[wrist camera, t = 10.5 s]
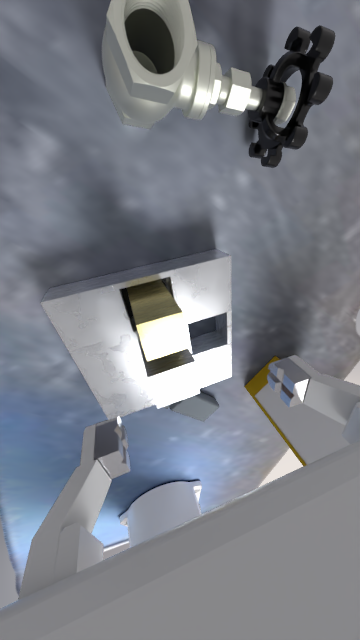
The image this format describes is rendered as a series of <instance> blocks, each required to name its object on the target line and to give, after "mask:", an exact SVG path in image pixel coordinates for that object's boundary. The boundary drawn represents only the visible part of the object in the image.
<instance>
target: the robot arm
mask: <svg viewBox="0 0 360 640" xmlns="http://www.w3.org/2000/svg"><path fill="white" fill-rule="evenodd" d="M268 369H269V370H270V372H269V373H268V376H267V380H268V383H269V385H270V387H271V388H272V389H273V390H274V391H275V392H277V393H280V398H281V399H282V400H283V402H284V403H285V404H286V405H287V406H288V407H289V408H290V407H293V406H295V405H298V404H301V403H303V404H305V405H307V406H309V407H311V408H313V409H315V410H316V411H318V412H320V413H322V414H324V415H326V416H328V417H330V418H332V419H333V420H335V421H337V422H339V423H341V424H343V425H345V427H344V429H343V431H342V437H343V438H344V439H345V440H346V441H347V442H348V443H349V444H350V445H348V446H346V447H344V448H342V449H340V450H338V451H336V452H333V453H331V454H329V455H327V456H325V457H323V458H321V459H319V460H316V461H314V462H312V463H310V464H308V465H306V466H304V467H301V468H299V469H297V470H295V471H293V472H291V473H289V474H286V475H285V476H282V477H280V478H278V479H276V480H274V481H272V482H269V483H267V484H265V485H263V486H261V487H259V488H257V489H254V490H252V491H250V492H248V493H246V494H244V495H242V496H240V497H237V498H235V499H233V500H231V501H229V502H227V503H225V504H222V505H220V506H218V507H216V508H214V509H212V510H210V511H207V512H205V513H203V514H201V511H200V510H201V509H200V504H199V503H198V501H199V497H200V492H201V488H202V485H201V481H194V482H184V481H179V482H172V483H168V484H165V485H162V486H159V487H157V488H154V489H152V490H150V491H148V492H147V493H145V494H143V495H142V496H140V497H139V498H138V499H136V500H135V501H134V502H133V503H132V505H131V506H130V508H129V509H128V510H127V511H126V512H125V513H124V514H122V515H121V516H120V524H122V525H125V526H127V527H128V534H129V543H130V548H128V549H127V550H125V551H122V552H120V553H118V554H116V555H114V556H112V557H109V558H107V559H105V560H103V544H102V543H101V542H100V541H99V540H98V539H97V538H96V537H94V536H93V535H92V534H91V533H92V530H93V528H94V525H95V523H96V520H97V518H98V515H99V513H100V510H101V507H102V505H103V502H104V500H105V497H106V495H107V492H108V490H109V487H110V484H111V482H112V480H111V479H114V478H116V477H118V476H121V475H123V474H125V473H128V472H130V458H129V454H128V452H127V448H128V446H129V445H128V437H127V433H126V429H125V427H124V426H123V425H122V424H121V419H120V417H116V418H112V419H109V420H106V421H103V422H100V423H97V424H94V425H91V426H88V427H85V430H84V434H83V443H82V451H81V460H80V466H78V467H76V469H75V470H74V472H73V474H72V475H71V477H70V478H69V480H68V482H67V483H66V485H65V487H64V488H63V490H62V492H61V493H60V495H59V496H58V498H57V500H56V501H55V503H54V505H53V506H52V508H51V510H50V511H49V513H48V514H47V516H46V518H45V519H44V521H43V523H42V524H41V526H40V528H39V529H38V531H37V532H36V534H35V536H34V537H33V539H32V542H31V546H30V551H29V555H28V559H27V563H26V568H25V572H24V576H23V581H22V585H21V589H20V593H19V598H18V600H17V601H16V602H13V603H11V604H9V605H7V606H5V607H3V608H0V640H360V386H359V385H356V384H353V383H350V382H347V381H344V380H341V379H338V378H335V377H332V376H329V375H326V374H320V373H319V372H317V371H316V370H315V369H313V368H312V367H311V366H310V365H308V364H307V363H306V362H305V361H303V360H302V359H301V358H300V357H298V356H296V355H293V356H290V357H287V358H283V359H281V360H278V361H275V362H273V363H270V364H269V367H268Z"/></svg>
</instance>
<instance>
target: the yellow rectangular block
mask: <svg viewBox="0 0 360 640" xmlns="http://www.w3.org/2000/svg"><path fill="white" fill-rule="evenodd" d="M127 291H128V295H129V299H130V303H131V307H132V311H133V315H134V319H135V323H136V327H137V330H138V333H139V336H140V340H141V343H142V346H143V349H144V353H145V356H146V359H147V361H150V360H153V359H156V358H159V357H162V356H165V355H168V354H171V353H174V352H177V351H180V350H184V349H187V348H188V342H187V336H186V329H185V322H184V316H183V311H182V310H181V308H180V307H179V306H178V304H177V303H176V301H175V300H174V298H173V297H172V295H171V294H170V293H169V291H168V290H167V288H166V287H165V285H164V284H163V282H162V281H161V280H160V279H158V280H154V281H150V282H146V283H142V284H138V285H134V286H131V287H127Z"/></svg>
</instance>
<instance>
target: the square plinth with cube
mask: <svg viewBox="0 0 360 640" xmlns="http://www.w3.org/2000/svg"><path fill="white" fill-rule="evenodd" d="M162 278H164V279H165V284H166V288H167V290H168V291H169V293H170V294H171V295H172V297H173V298H174V300H175V301H176V303H177V304H178V306H179V307H180V308H181V310H182V311H183V316H184V322H185V329H186V336H187V342H188V348H187V349H184V350H180V351H177V352H174V353H171V354H168V355H165V356H162V357H159V358H156V359H153V360H150V361H147V359H146V356H145V353H144V349H143V346H142V343H141V340H140V336H139V333H138V330H137V327H136V323H135V319H134V316H131V317H130V315H129V312H128V309H127V306H126V303H125V300H124V297H123V294H122V291H121V289H123V288H127V287H131V286H134V285H138V284H142V283H146V282H150V281H154V280H158V279H162ZM40 303H41V305H42V307H43V308H44V310H45V312H46V314H47V315H48V317H49V319H50V320H51V322H52V324H53V326H54V327H55V329H56V331H57V332H58V334H59V336H60V337H61V339H62V341H63V343H64V344H65V346H66V348H67V349H68V351H69V353H70V355H71V356H72V358H73V360H74V361H75V363H76V365H77V366H78V368H79V370H80V372H81V373H82V375H83V377H84V378H85V380H86V382H87V384H88V385H89V387H90V389H91V390H92V392H93V394H94V395H95V397H96V399H97V401H98V402H99V404H100V406H101V407H102V409H103V411H104V413H105V414H106V416H107V418H108V419H112V418H116V417H123V416H126V415H128V414H131V413H134V412H136V411H139V410H142V409H145V408H147V407H150V406H153V405H157V408H158V409H159V408H161V407H164V406H167V405H169V404H172V403H175V402H177V401H180V400H183V399H185V398H188V397H191V396H193V395H196V394H199V393H200V389H199V388H202V387H205V386H207V385H210V384H213V383H215V382H218V381H221V380H224V379H226V378H229V377H232V365H231V255H229V254H227V253H224V252H222V251H220V250H218V249H213V250H209V251H205V252H200V253H196V254H192V255H188V256H183V257H179V258H175V259H171V260H167V261H162V262H158V263H154V264H150V265H145V266H141V267H137V268H133V269H129V270H124V271H120V272H116V273H112V274H107V275H103V276H99V277H95V278H91V279H86V280H82V281H78V282H74V283H69V284H65V285H61V286H57V287H52V288H49V289H48V291H47V292H46V294H45V296H44V297H43V299H42V301H41V302H40ZM212 316H215V321H216V331H213V332H210V333H207V334H204V335H200V336H197V337H194V338H191V339H190V337H189V330H188V324H189V323H193V322H196V321H199V320H203V319H206V318H209V317H212Z"/></svg>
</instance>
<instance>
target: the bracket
mask: <svg viewBox="0 0 360 640" xmlns="http://www.w3.org/2000/svg"><path fill="white" fill-rule="evenodd" d="M169 407H170V409H171V410H172V411H175V412H177V413H180V414H183V415H186V416H189V417H192V418H194V419H197V420H200V421H203V422H204V421H205V420H206V419H207V418H208V417H209V416H211V415H212V414H213V413H214V412H215V411H216V410H217V409H218V408H219V404H218V402H217V401H216V399H215V398H213V397H211V396H208V395H206V394H204V393H202V392H200V393H199V394H196V395H193V396H191V397H188V398H185V399H183V400H180V401H177V402H175V403H172V404H169V405H167V406H164V407H163V408H166V409H168V408H169Z"/></svg>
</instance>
